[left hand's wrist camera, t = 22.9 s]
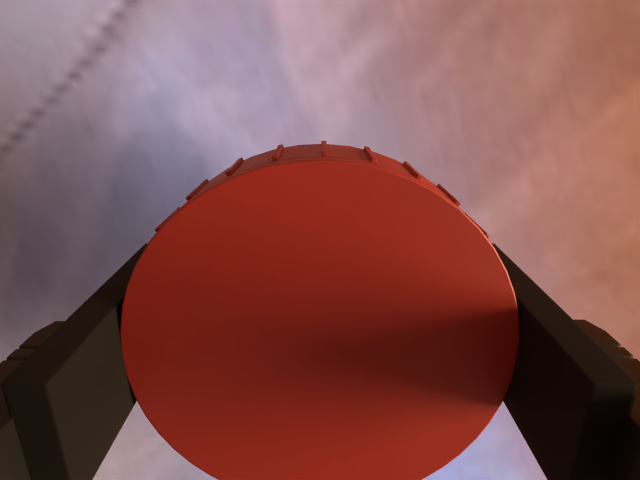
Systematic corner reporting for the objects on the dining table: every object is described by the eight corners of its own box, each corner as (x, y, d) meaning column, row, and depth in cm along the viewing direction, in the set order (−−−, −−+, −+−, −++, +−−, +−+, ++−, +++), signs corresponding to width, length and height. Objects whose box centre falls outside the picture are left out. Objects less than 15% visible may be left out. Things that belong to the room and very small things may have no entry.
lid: (315, 487, 14) (314, 556, 12) (83, 305, 12) (34, 353, 10) (554, 314, 12) (602, 363, 10) (325, 55, 10) (327, 50, 8)
